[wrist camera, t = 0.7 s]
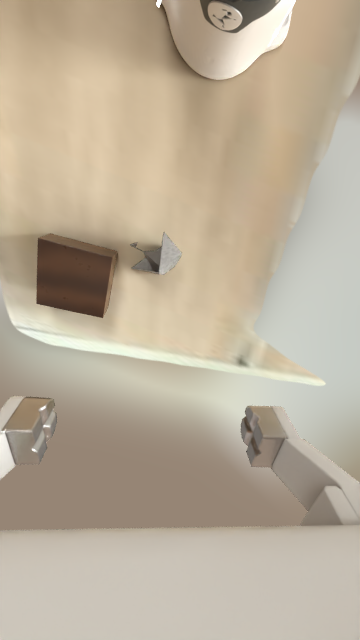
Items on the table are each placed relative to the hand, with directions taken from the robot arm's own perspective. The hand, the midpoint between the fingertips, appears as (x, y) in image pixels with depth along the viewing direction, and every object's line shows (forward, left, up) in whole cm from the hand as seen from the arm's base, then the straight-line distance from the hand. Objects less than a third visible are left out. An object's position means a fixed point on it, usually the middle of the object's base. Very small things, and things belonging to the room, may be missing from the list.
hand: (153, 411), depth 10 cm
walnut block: (+10, -14, -40) cm, 43 cm away
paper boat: (+2, -1, -40) cm, 40 cm away
